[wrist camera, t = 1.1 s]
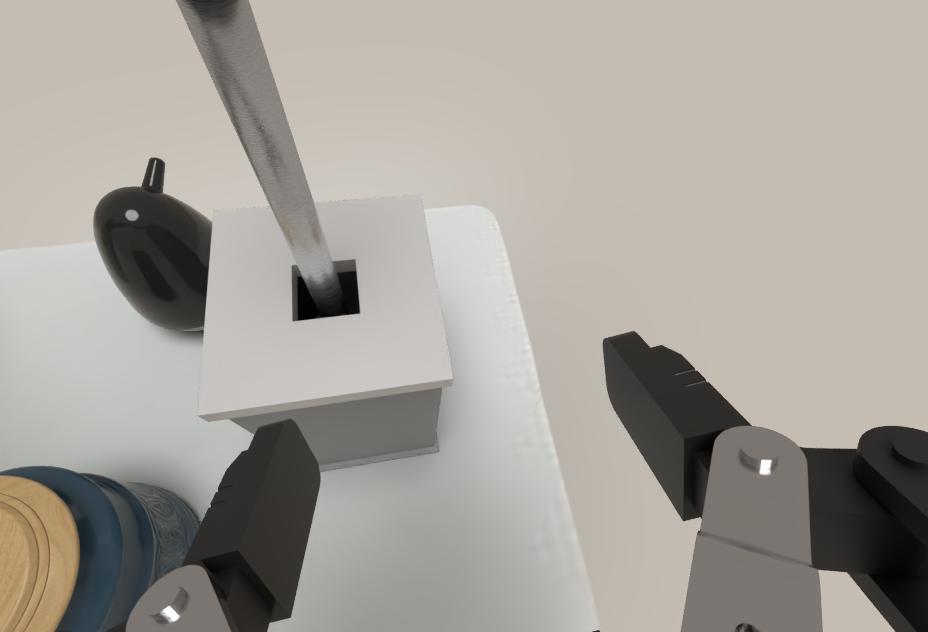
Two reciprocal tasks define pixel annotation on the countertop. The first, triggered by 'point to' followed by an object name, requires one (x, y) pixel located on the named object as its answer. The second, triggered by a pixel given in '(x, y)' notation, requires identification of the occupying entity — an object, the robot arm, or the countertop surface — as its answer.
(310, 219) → the plunger
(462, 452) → the countertop surface
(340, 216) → the press
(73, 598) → the canister
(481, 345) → the countertop surface
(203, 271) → the black egg-shaped dispenser
